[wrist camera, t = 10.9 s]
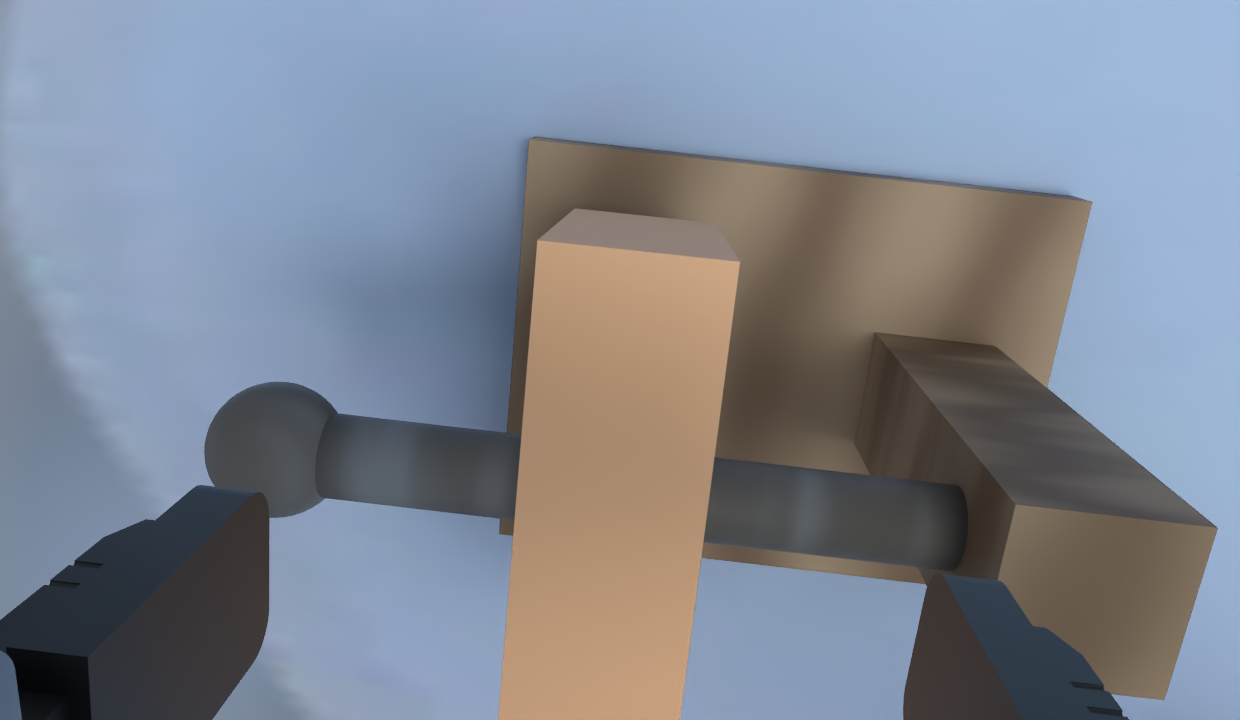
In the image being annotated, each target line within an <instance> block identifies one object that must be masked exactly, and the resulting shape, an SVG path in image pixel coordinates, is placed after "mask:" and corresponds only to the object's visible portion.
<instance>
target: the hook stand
mask: <svg viewBox="0 0 1240 720" xmlns="http://www.w3.org/2000/svg"><path fill="white" fill-rule="evenodd" d="M1091 205H1092V202H1091V201H1087V200H1084V199H1080V198H1077V197H1074V196H1065V195H1056V194H1047V193H1038V192H1029V191H1020V190H1011V189H1002V188H993V187H984V186H975V185H966V184H957V183H948V182H939V181H930V180H921V179H912V178H903V177H894V176H885V175H876V174H867V173H858V172H849V171H840V170H830V169H821V168H812V167H803V166H794V165H785V164H776V163H767V162H758V161H749V160H740V159H731V158H722V157H713V156H704V155H695V154H686V153H677V152H668V151H659V150H650V149H641V148H632V147H623V146H614V145H605V144H596V143H587V142H578V141H569V140H560V139H551V138H542V137H534V138H532V139H529V149H528V162H527V175H526V188H525V201H524V214H523V227H522V241H521V254H520V267H519V280H518V293H517V306H516V319H515V332H514V346H513V359H512V372H511V385H510V398H509V411H508V424H507V433H501V432H492V431H484V430H475V429H467V428H458V427H449V426H441V425H432V424H423V423H415V422H406V421H397V420H389V419H380V418H371V417H363V416H354V415H345V414H338V413H337V411H336V410H335V409H334V407H333V406H332V405H331V404H330V403H329V402H328V401H327V400H326V399H325V398H324V397H322V396H321V395H320V394H318V393H316V392H315V391H313V390H311V389H309V388H307V387H304V386H301V385H298V384H294V383H288V382H268V383H263V384H259V385H255V386H253V387H250V388H247V389H245V390H244V391H242V392H240V393H238V394H236V395H235V396H234V397H232V398H231V399H230V400H229V401H228V402H227V403H226V404H224V405H223V406H222V407H221V409H220V410H219V411H218V413H217V414H216V415H215V417H214V419H213V421H212V423H211V424H210V427H209V430H208V432H207V436H206V441H205V451H204V453H205V463H206V468H207V471H208V474H209V477H210V479H211V481H212V483H213V485H214V486H215V487H221V488H229V489H238V490H246V491H255V492H261V493H263V494H264V495H265V497H266V499H267V502H268V507H269V517H270V518H279V517H287V516H292V515H296V514H299V513H302V512H304V511H306V510H308V509H310V508H312V507H314V506H315V505H317V504H318V503H320V502H321V501H322V500H323V499H324V498H330V499H338V500H347V501H355V502H364V503H372V504H381V505H389V506H398V507H407V508H415V509H424V510H432V511H441V512H449V513H458V514H466V515H475V516H483V517H492V518H500V529H499V534H503V535H512V536H513V533H514V520H515V508H516V496H517V484H518V472H519V459H520V447H521V435H522V423H523V411H524V398H525V386H526V374H527V362H528V350H529V337H530V325H531V313H532V301H533V289H534V276H535V264H536V252H537V240H538V239H540V238H541V237H542V236H543V235H544V234H545V233H547V232H548V231H549V230H550V229H551V228H552V227H554V226H555V225H556V224H557V223H558V222H559V221H561V220H562V219H563V218H564V217H565V216H567V215H568V214H569V213H570V212H571V211H572V210H574V209H575V208H576V209H586V210H595V211H605V212H614V213H623V214H633V215H642V216H652V217H661V218H671V219H680V220H689V221H699V222H708V223H716V224H717V226H718V227H719V229H720V231H721V232H722V234H723V235H724V237H725V239H726V240H727V242H728V243H729V245H730V247H731V248H732V250H733V251H734V253H735V255H736V256H737V258H738V259H739V261H740V266H739V274H738V282H737V289H736V297H735V305H734V312H733V320H732V327H731V335H730V343H729V350H728V358H727V366H726V373H725V381H724V388H723V396H722V404H721V411H720V419H719V427H718V434H717V442H716V450H715V457H714V465H713V472H712V480H711V488H710V495H709V503H708V511H707V518H706V526H705V533H704V541H703V549H702V556H701V558H708V559H716V560H725V561H733V562H742V563H751V564H759V565H768V566H776V567H785V568H793V569H802V570H810V571H819V572H827V573H836V574H844V575H853V576H861V577H870V578H878V579H887V580H896V581H904V582H913V583H921V584H926V585H927V587H928V584H929V582H930V580H931V578H932V577H933V576H934V575H935V574H937V573H940V574H949V575H957V576H966V577H974V578H983V579H991V580H999V581H1002V582H1003V583H1004V584H1005V585H1006V587H1007V588H1008V590H1009V591H1010V593H1011V594H1012V596H1013V597H1014V599H1015V600H1016V602H1017V603H1018V605H1019V606H1020V608H1021V609H1022V611H1023V612H1024V614H1025V615H1026V617H1027V618H1028V620H1029V621H1030V623H1031V624H1032V626H1036V627H1044V628H1047V629H1049V630H1050V631H1051V632H1053V633H1054V634H1055V635H1057V636H1058V637H1059V638H1060V639H1062V640H1063V641H1064V642H1066V643H1067V644H1068V645H1070V646H1071V647H1072V648H1074V649H1075V650H1076V651H1078V652H1079V653H1080V654H1082V655H1083V656H1084V658H1085V659H1086V661H1087V662H1088V663H1089V665H1090V666H1091V668H1092V669H1093V670H1094V672H1095V673H1096V675H1097V676H1098V677H1099V679H1100V680H1101V681H1102V683H1103V684H1104V691H1109V693H1110V694H1117V695H1125V696H1133V697H1142V698H1150V699H1159V700H1164V699H1165V696H1166V693H1167V690H1168V686H1169V683H1170V680H1171V677H1172V674H1173V670H1174V667H1175V664H1176V661H1177V658H1178V654H1179V651H1180V648H1181V645H1182V641H1183V638H1184V635H1185V632H1186V629H1187V625H1188V622H1189V619H1190V616H1191V613H1192V609H1193V606H1194V603H1195V600H1196V596H1197V593H1198V590H1199V587H1200V584H1201V580H1202V577H1203V574H1204V571H1205V567H1206V564H1207V561H1208V558H1209V555H1210V551H1211V548H1212V545H1213V542H1214V539H1215V535H1216V532H1217V529H1218V528H1217V527H1216V526H1215V525H1214V524H1212V523H1211V522H1210V521H1209V520H1208V519H1206V518H1205V517H1204V516H1203V515H1201V514H1200V513H1199V512H1198V511H1197V510H1195V509H1194V508H1193V507H1192V506H1190V505H1189V504H1188V503H1187V502H1186V501H1184V500H1183V499H1182V498H1181V497H1179V496H1178V495H1177V494H1176V493H1175V492H1173V491H1172V490H1171V489H1170V488H1168V487H1167V486H1166V485H1165V484H1164V483H1162V482H1161V481H1160V480H1159V479H1157V478H1156V477H1155V476H1154V475H1153V474H1151V473H1150V472H1149V471H1148V470H1146V469H1145V468H1144V467H1143V466H1142V465H1140V464H1139V463H1138V462H1137V461H1135V460H1134V459H1133V458H1132V457H1131V456H1129V455H1128V454H1127V453H1126V452H1124V451H1123V450H1122V449H1121V448H1120V447H1118V446H1117V445H1116V444H1115V443H1113V442H1112V441H1111V440H1110V439H1109V438H1107V437H1106V436H1105V435H1104V434H1102V433H1101V432H1100V431H1099V430H1098V429H1096V428H1095V427H1094V426H1093V425H1091V424H1090V423H1089V422H1088V421H1087V420H1085V419H1084V418H1083V417H1082V416H1080V415H1079V414H1078V413H1077V412H1076V411H1074V410H1073V409H1072V408H1071V407H1070V406H1068V405H1067V404H1066V403H1065V402H1063V401H1062V400H1061V399H1060V398H1059V397H1057V396H1056V395H1055V394H1054V393H1052V392H1051V391H1050V390H1049V389H1048V388H1047V386H1048V381H1049V377H1050V373H1051V369H1052V365H1053V361H1054V357H1055V353H1056V349H1057V345H1058V340H1059V336H1060V332H1061V328H1062V324H1063V320H1064V316H1065V312H1066V308H1067V304H1068V299H1069V295H1070V291H1071V287H1072V283H1073V279H1074V275H1075V271H1076V267H1077V263H1078V258H1079V254H1080V250H1081V246H1082V242H1083V238H1084V234H1085V230H1086V226H1087V222H1088V218H1089V213H1090V209H1091Z"/></svg>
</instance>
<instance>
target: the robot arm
mask: <svg viewBox="0 0 1240 720" xmlns="http://www.w3.org/2000/svg"><path fill="white" fill-rule="evenodd" d="M268 615H269V507H268V502H267V499H266V497H265V495H264V494H263V493H261V492H255V491H246V490H238V489H229V488H221V487H212V486H204V485H199V486H196V487H195V488H193V489H192V490H191V491H189V492H188V493H187V494H186V495H185V496H184V497H182V498H181V499H180V500H179V501H178V502H176V503H175V504H174V505H173V506H172V507H171V508H169V509H168V510H167V511H166V512H165V513H163V514H162V515H161V516H160V517H159V518H158V519H156V520H155V521H154V520H144V521H141V522H139V523H137V524H134V525H132V526H129V527H127V528H125V529H122V530H120V531H118V532H115V533H113V534H110V535H108V536H106V537H104V538H102V539H101V540H100V541H99V542H97V543H96V544H95V545H94V546H92V547H91V548H90V549H89V550H88V551H86V552H85V553H84V554H82V555H81V556H80V557H79V558H77V559H76V560H75V563H74V566H71V565H69V566H67V567H66V568H65V569H64V570H62V571H61V572H60V573H59V574H57V575H56V576H55V577H54V578H52V579H51V581H50V585H44V586H42V587H41V588H40V589H39V590H37V591H36V592H35V593H34V594H32V595H31V596H30V597H29V598H27V599H26V600H25V601H24V602H22V603H21V604H20V605H19V606H17V607H16V608H15V609H14V610H12V611H11V612H10V613H9V614H7V615H6V616H5V617H4V618H2V619H1V620H0V720H212V719H213V718H214V716H215V715H216V714H217V712H218V711H219V709H220V708H221V706H222V705H223V704H224V702H225V701H226V700H227V698H228V697H229V696H230V694H231V693H232V691H233V690H234V689H235V687H236V686H237V684H238V683H239V682H240V680H241V679H242V678H243V676H244V675H245V673H246V672H247V671H248V669H249V668H250V666H251V665H252V664H253V662H254V660H255V659H256V657H257V655H258V653H259V651H260V648H261V645H262V643H263V639H264V636H265V632H266V628H267V622H268ZM903 717H904V720H1129V719H1128V718H1127V717H1123V716H1122V709H1121V708H1120V706H1119V705H1118V704H1117V702H1116V701H1115V699H1114V698H1113V697H1112V695H1111V694H1110V693H1109V691H1104V684H1103V683H1102V681H1101V680H1100V679H1099V677H1098V676H1097V675H1096V673H1095V672H1094V670H1093V669H1092V668H1091V666H1090V665H1089V663H1088V662H1087V661H1086V659H1085V658H1084V656H1083V655H1082V654H1080V653H1079V652H1078V651H1076V650H1075V649H1074V648H1072V647H1071V646H1070V645H1068V644H1067V643H1066V642H1064V641H1063V640H1062V639H1060V638H1059V637H1058V636H1057V635H1055V634H1054V633H1053V632H1051V631H1050V630H1049V629H1047V628H1044V627H1036V626H1032V624H1031V623H1030V621H1029V620H1028V618H1027V617H1026V615H1025V614H1024V612H1023V611H1022V609H1021V608H1020V606H1019V605H1018V603H1017V602H1016V600H1015V599H1014V597H1013V596H1012V594H1011V593H1010V591H1009V590H1008V588H1007V587H1006V585H1005V584H1004V583H1003V582H1002V581H999V580H991V579H983V578H974V577H966V576H957V575H949V574H940V573H937V574H935V575H934V576H933V577H932V578H931V580H930V582H929V584H928V587H927V590H926V594H925V598H924V602H923V607H922V612H921V616H920V621H919V626H918V630H917V635H916V639H915V644H914V649H913V653H912V658H911V663H910V667H909V672H908V677H907V681H906V686H905V693H904V704H903Z"/></svg>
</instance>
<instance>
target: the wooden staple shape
mask: <svg viewBox="0 0 1240 720" xmlns="http://www.w3.org/2000/svg"><path fill="white" fill-rule="evenodd" d="M739 266H740V261H739V259H738V258H737V256H736V255H735V253H734V251H733V250H732V248H731V247H730V245H729V243H728V242H727V240H726V239H725V237H724V235H723V234H722V232H721V231H720V229H719V227H718V226H717V224H716V223H708V222H699V221H689V220H680V219H671V218H661V217H652V216H642V215H633V214H623V213H614V212H605V211H595V210H586V209H576V208H575V209H574V210H572V211H571V212H570V213H569V214H568V215H567V216H565V217H564V218H563V219H562V220H561V221H559V222H558V223H557V224H556V225H555V226H554V227H552V228H551V229H550V230H549V231H548V232H547V233H545V234H544V235H543V236H542V237H541V238H540V239H538V240H537V252H536V264H535V276H534V289H533V301H532V313H531V325H530V337H529V350H528V362H527V374H526V386H525V398H524V411H523V423H522V435H521V447H520V459H519V472H518V484H517V496H516V508H515V520H514V533H513V545H512V557H511V569H510V581H509V594H508V606H507V618H506V630H505V642H504V655H503V667H502V679H501V691H500V704H499V716H498V720H680V716H681V709H682V701H683V694H684V686H685V678H686V671H687V663H688V655H689V648H690V640H691V633H692V625H693V617H694V610H695V602H696V594H697V587H698V579H699V572H700V564H701V556H702V549H703V541H704V533H705V526H706V518H707V511H708V503H709V495H710V488H711V480H712V472H713V465H714V457H715V450H716V442H717V434H718V427H719V419H720V411H721V404H722V396H723V388H724V381H725V373H726V366H727V358H728V350H729V343H730V335H731V327H732V320H733V312H734V305H735V297H736V289H737V282H738V274H739Z"/></svg>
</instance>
